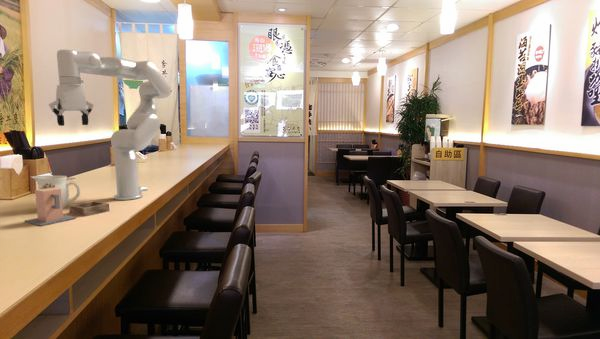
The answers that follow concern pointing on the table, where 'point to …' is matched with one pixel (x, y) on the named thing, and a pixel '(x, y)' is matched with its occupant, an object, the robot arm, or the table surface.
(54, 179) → the pitcher
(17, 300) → the table surface
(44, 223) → the rubber mat
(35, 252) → the table surface
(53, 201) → the peach block with tab
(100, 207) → the frame
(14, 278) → the table surface
